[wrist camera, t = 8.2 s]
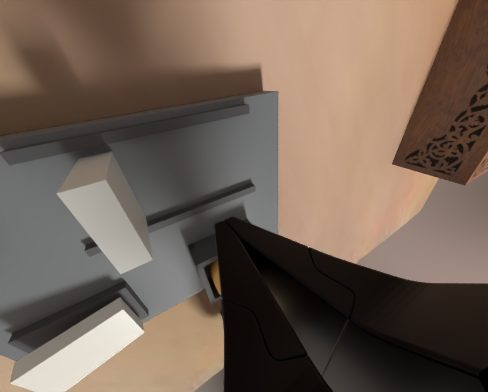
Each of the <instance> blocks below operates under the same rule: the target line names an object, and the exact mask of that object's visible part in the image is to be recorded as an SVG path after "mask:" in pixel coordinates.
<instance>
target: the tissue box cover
mask: <svg viewBox="0 0 488 392" xmlns="http://www.w3.org/2000/svg"><path fill="white" fill-rule="evenodd" d="M392 164H393V165H397V166H400V167H403V168H407V169H410V170H414V171H417V172H421V173H424V174H428V175H431V176H434V177H438V178H441V179H445V180H449V181H452V182H455V183H458V184H462V185H466V184H468V183H469V182H471V181H472V180H474V179H475V178H477V177H479V176H480V175H482V174H483V173H485V172H486V171H488V0H459V2H458V5H457V7H456V10H455V12H454V14H453V17H452V19H451V22H450V24H449V27H448V29H447V31H446V34H445V36H444V39H443V41H442V44H441V46H440V48H439V51H438V53H437V56H436V58H435V61H434V63H433V65H432V68H431V70H430V73H429V75H428V78H427V80H426V83H425V85H424V87H423V90H422V92H421V95H420V97H419V100H418V102H417V104H416V107H415V109H414V112H413V114H412V117H411V119H410V121H409V124H408V126H407V129H406V131H405V134H404V136H403V138H402V141H401V143H400V146H399V148H398V151H397V153H396V155H395V158H394V160H393V163H392Z"/></svg>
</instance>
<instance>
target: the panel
mask: <svg viewBox="0 0 488 392" xmlns="http://www.w3.org/2000/svg"><path fill="white" fill-rule="evenodd" d="M109 151H112V152H113V154H114V156H115V158H116V160H117V162H118V164H119V166H120V168H121V170H122V172H123V174H124V176H125V178H126V180H127V181H128V183H129V185H130V187H131V189H132V191H133V193H134V195H135V197H136V199H137V201H138V203H139V205H140V207H141V209H142V210H143V212H144V214H145V216H146V220H147V227H148V233H149V239H150V245H151V251H152V257H153V260H152V261H149V262H147V263H145V264H143V265H140V266H138V267H136V268H134V269H132V270H129V271H127V272H125V273H123V274H120V273H119V272H118V271H117V269H116V268H115V267H114V266H113V264H112V263H111V262H110V260H109V259H108V258H107V257H106V255H105V254H104V253H103V252H102V250H101V249H100V248H99V247H98V245H97V244H96V243H95V242H94V240H93V239H92V238H91V237H90V235H89V234H88V233H87V232H86V230H85V229H84V228H83V227H82V225H81V224H80V223H79V222H78V220H77V219H76V218H75V216H74V215H73V214H72V213H71V211H70V210H69V209H68V208H67V206H66V205H65V204H64V203H63V201H62V200H61V199H60V198H59V196H58V195H57V194H56V193H57V192H58V190H59V189H60V187H61V186H62V184H63V182H64V181H65V179H66V178H67V176H68V175H69V173H70V171H71V170H72V168H73V167H74V165H75V164H76V162H77V160H78V159H79V158H83V157H87V156H92V155H96V154H101V153H105V152H109ZM232 216H233V217H236V218H238V219H241V220H243V221H246V222H248V223H251V224H253V225H256V226H258V227H261V228H263V229H265V230H268V231H270V232H273V233H275V234H278V91H260V92H254V93H249V94H243V95H237V96H231V97H225V98H219V99H213V100H208V101H202V102H196V103H190V104H184V105H178V106H172V107H167V108H161V109H155V110H149V111H143V112H137V113H131V114H126V115H120V116H114V117H108V118H102V119H96V120H90V121H85V122H79V123H73V124H67V125H61V126H55V127H50V128H44V129H38V130H32V131H26V132H20V133H14V134H9V135H3V136H0V355H3V356H5V357H7V358H10V359H12V360H15V361H18V360H20V359H21V358H23V357H25V356H26V355H28V354H29V353H31V352H33V351H34V350H36V349H37V348H39V347H41V346H42V345H44V344H46V343H47V342H49V341H50V340H52V339H54V338H55V337H57V336H58V335H60V334H62V333H63V332H65V331H66V330H68V329H70V328H71V327H73V326H74V325H76V324H78V323H79V322H81V321H82V320H84V319H86V318H87V317H89V316H91V315H92V314H94V313H95V312H97V311H99V310H100V309H102V308H103V307H105V306H107V305H108V304H110V303H111V302H113V301H115V300H116V299H118V298H119V297H121V299H122V300H123V301H124V302H125V303H126V304H127V305H128V306H129V307H130V309H131V310H132V311H133V312H134V313H135V314H136V315H137V316H138V317H139V319H140V320H141V322H142V324H143V323H144V322H146V321H148V320H150V319H152V318H154V317H155V316H157V315H159V314H161V313H163V312H164V311H166V310H168V309H170V308H172V307H173V306H175V305H177V304H179V303H181V302H182V301H184V300H186V299H188V298H190V297H191V296H193V295H195V294H197V293H199V292H200V291H202V290H204V289H205V290H206V293H207V295H208V298H209V300H210V303H211V305H212V304H214V303H215V302H217V301H219V300H220V299H222V298H221V295H220V294H219V293H218V290H217V288H216V286H215V284H214V282H213V280H212V277H211V275H210V273H209V271H208V269H207V266H206V265H208V264H210V263H212V262H214V261H216V260H217V250H216V240H215V230H214V224H215V223H217V222H220V221H224V220H225V219H227V218H229V217H232Z"/></svg>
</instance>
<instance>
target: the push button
mask: <svg viewBox="0 0 488 392" xmlns="http://www.w3.org/2000/svg"><path fill="white" fill-rule="evenodd" d="M206 266H207V269H208V271H209V273H210V275H211V277H212V280H213V282H214V284H215V286H216V288H217V290H218V293H219V294H220V295H221V290H220V280H219V270H218V260H216V261H214V262H212V263H210V264H208V265H206Z"/></svg>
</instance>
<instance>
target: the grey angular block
mask: <svg viewBox="0 0 488 392" xmlns="http://www.w3.org/2000/svg"><path fill="white" fill-rule="evenodd" d="M56 194H57V195H58V196H59V198H60V199H61V200H62V201H63V203H64V204H65V205H66V206H67V208H68V209H69V210H70V211H71V213H72V214H73V215H74V216H75V218H76V219H77V220H78V222H79V223H80V224H81V225H82V227H83V228H84V229H85V230H86V232H87V233H88V234H89V235H90V237H91V238H92V239H93V240H94V242H95V243H96V244H97V245H98V247H99V248H100V249H101V250H102V252H103V253H104V254H105V255H106V257H107V258H108V259H109V260H110V262H111V263H112V264H113V266H114V267H115V268H116V269H117V271H118V272H119V273H120V274H123V273H125V272H127V271H129V270H132V269H134V268H136V267H138V266H140V265H143V264H145V263H147V262H149V261H152V260H153V257H152V251H151V245H150V239H149V233H148V227H147V220H146V216H145V214H144V212H143V210H142V209H141V207H140V205H139V203H138V201H137V199H136V197H135V195H134V193H133V191H132V189H131V187H130V185H129V183H128V181H127V180H126V178H125V176H124V174H123V172H122V170H121V168H120V166H119V164H118V162H117V160H116V158H115V156H114V154H113V152H112V151H109V152H105V153H101V154H96V155H92V156H87V157H83V158H79V159H78V160H77V162H76V164H75V165H74V167H73V168H72V170H71V171H70V173H69V175H68V176H67V178H66V179H65V181H64V182H63V184H62V186H61V187H60V189H59V190H58V192H57V193H56Z"/></svg>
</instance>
